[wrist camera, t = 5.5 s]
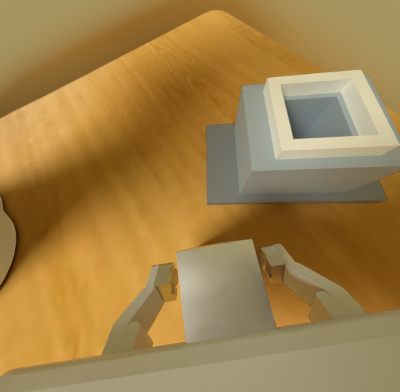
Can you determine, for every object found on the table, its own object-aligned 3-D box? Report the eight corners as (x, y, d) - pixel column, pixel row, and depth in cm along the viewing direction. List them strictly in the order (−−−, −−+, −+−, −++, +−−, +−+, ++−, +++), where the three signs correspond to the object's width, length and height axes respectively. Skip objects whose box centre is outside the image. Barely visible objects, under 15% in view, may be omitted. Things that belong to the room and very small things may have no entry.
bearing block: (207, 204, 18) (204, 183, 12) (206, 130, 22) (203, 82, 16) (377, 202, 17) (485, 175, 10) (345, 121, 20) (409, 63, 14)
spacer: (275, 159, 12) (282, 150, 11) (263, 90, 14) (267, 77, 13) (381, 155, 11) (400, 145, 10) (348, 83, 14) (361, 69, 13)
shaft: (204, 279, 16) (186, 349, 5) (199, 246, 17) (176, 252, 7) (235, 273, 16) (278, 334, 5) (228, 241, 17) (251, 238, 6)
